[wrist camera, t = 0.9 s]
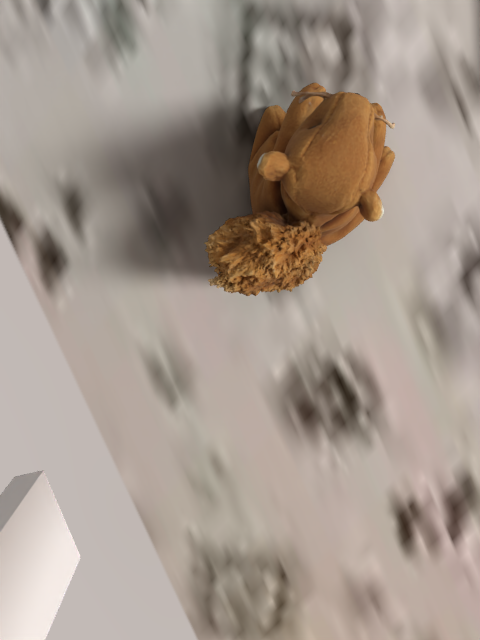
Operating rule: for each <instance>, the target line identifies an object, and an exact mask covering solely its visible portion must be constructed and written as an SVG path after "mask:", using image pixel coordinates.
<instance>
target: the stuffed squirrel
mask: <svg viewBox="0 0 480 640" xmlns="http://www.w3.org/2000/svg"><path fill="white" fill-rule="evenodd" d="M291 95H292V96H296V97H295V98H294V100H293V101H292V103H291V105H290V106H289V108H288V110H287V113H285V112H284V111H283V110H282V108H281V107H280V106H278V105H275V106H270V107H268V108H267V109H266V110H265V112H264V114H263V116H262V118H261V121H260V123H259V126H258V129H257V133H256V137H255V140H254V144H253V148H252V153H251V156H250V162H249V166H248V174H249V185H250V198H251V207H252V212H253V214H251V215H247V216H242V217H241V216H240V217H236V218H230V219H228V220H227V221H226V222H225V224H223V226H221V227H219V230H216V231H215V232H214V233H213V234H212V235H209V238H208V242H206V243H205V244H206V245H207V246H206V247H207V249H205V251H206V252H208V258H209V261H210V262H209V264H211V265H210V266H209V267H212V266H214V267H217V268H216V269H215V272H217V273H218V277H215V278H214V279H209V280H208V281H209V282H210V286H212V285H217V288H219V287H224V291H226V292H227V291H228V292H231V293H233V292H239V293H240V294H241V293H242V294H244V295H245V294H246V296H249V295H250V294H253V295H255V296H256V295H257V294H258V293H259V292H260V291H261V292H263V291H265V292H267V291H269V292H272V291H274V290H277V292H278V293H279V292H280V290H283V289H286V290H290V292H291V291H292V288H294V287H295V286H299V284H303V283H304V281H305V280H308V279H309V277H310V278H312V274H313V273H314V272H315V271H317V269H318V266H319V264H320V262H321V261H322V255H321V254H323V252H325V251H326V249H327V247H326V246H328V245H330V244H332V243H334V242H336V241H338V240H340V239H342V238H343V237H345V236H346V235H347V234H348V233H349V232H351V231H352V230H353V229H354V228H356V227H357V226H358V225H359V224H360V223H361V222H362V221H363V220H364V219H366V220H368V221H372V222H373V221H377V220H379V219H380V218H381V217H382V215H383V213H384V210H383V206H382V202H381V200H380V198H379V196H378V195H377V193H376V192H377V190H378V189H379V187H380V186H381V185H382V183H383V181H384V179H385V178H386V176H387V175H388V173H389V170H390V168H391V166H392V163H393V161H394V158H395V154H394V152H393V151H391V150H390V148H389V147H387V146H384V142H385V134H386V124H388V126H389V127H390V128H392V129H394V127H395V124H394V123H392V124H391V123H390V122H389V121H388V120H386V117H385V114H384V112H383V109H382V107H381V106H380V105H379V104H378V103H372V104H371V103H369V101H368V99H366V98H364V97H362V96H361V95H359V94H358V93H349V92H348V93H345V92H338V93H336V94H329V93H327V92H326V90H325V88H324V87H323V86H320V85H319V84H317V83H312V84H310V85H308V86H306V87H304V88H303V89H302V90H301V91H300V92H295V91H292V94H291ZM219 272H221V273H220V274H219Z"/></svg>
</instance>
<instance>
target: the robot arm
mask: <svg viewBox="0 0 480 640" xmlns="http://www.w3.org/2000/svg"><path fill="white" fill-rule="evenodd" d="M79 560H80V554H79V552H78V550H77V547H76V545H75V543H74V540H73V538H72V536H71V533H70V531H69V529H68V527H67V524H66V522H65V520H64V517H63V515H62V512H61V510H60V508H59V505H58V503H57V501H56V498H55V496H54V494H53V491H52V489H51V487H50V484H49V482H48V480H47V477H46V475H45V473H44V471H38V472H34V473H29V474H24V475H20V476H16V477H14V478H13V479H12V481H11V482H10V484H9V485H8V486H7V487H6V488H5V490H4V491H3V492H2V494H1V495H0V640H45V639H46V637H47V634H48V632H49V630H50V627H51V625H52V622H53V620H54V618H55V616H56V613H57V611H58V609H59V606H60V604H61V602H62V599H63V597H64V595H65V592H66V590H67V588H68V585H69V583H70V581H71V578H72V576H73V574H74V571H75V569H76V567H77V565H78V562H79Z"/></svg>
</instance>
